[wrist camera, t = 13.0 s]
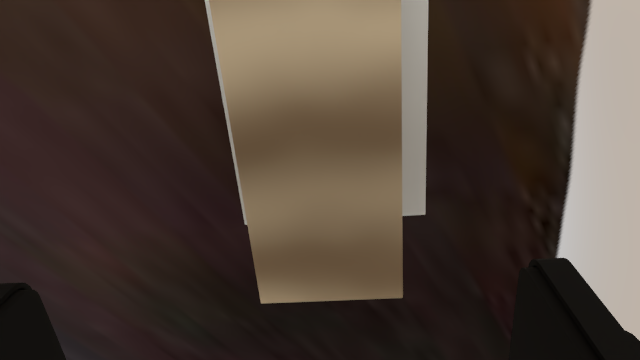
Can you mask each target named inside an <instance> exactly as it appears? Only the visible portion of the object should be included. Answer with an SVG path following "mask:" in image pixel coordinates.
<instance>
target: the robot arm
mask: <svg viewBox="0 0 640 360" xmlns="http://www.w3.org/2000/svg"><path fill="white" fill-rule="evenodd" d="M0 360H66V358H65V355H64V353H63V351H62V348H61V346H60V344H59V341H58V339H57V336H56V334H55V332H54V329H53V327H52V324H51V322H50V320H49V317H48V315H47V312H46V310H45V308H44V305H43V303H42V300H41V298H40V296H39V294H38V292H36V291H35V290H32V288H31V287H30V286H29V285H28V284H26V283H4V284H0ZM509 360H640V341H639V340H638V339H637V338H636V337H635V336H634V335H633V334H631V333H629V332H627V331H625V330H624V329H623V328H622V327H621V326H620V324H619V323H618V322H617V320H616V319H615V318H614V317H613V316H612V314H611V313H610V312H609V311H608V309H607V308H606V306H605V305H604V304H603V303H602V301H601V300H600V299H599V298H598V297H597V295H596V294H595V293H594V291H593V290H592V289H591V288H590V286H589V285H588V284H587V283H586V281H585V280H584V279H583V278H582V276H581V275H580V274H579V272H578V271H577V270H576V269H575V268H574V266H573V265H572V264H571V262H569V260H567V259H565V258H552V259H533V260H531V262H530V263H529V267H528V268H521V270H520V272H519V279H518V287H517V295H516V304H515V312H514V320H513V329H512V337H511V345H510V353H509Z"/></svg>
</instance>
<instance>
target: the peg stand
mask: <svg viewBox="0 0 640 360" xmlns="http://www.w3.org/2000/svg"><path fill="white" fill-rule="evenodd" d="M205 5H206V10H207V16H208V21H209V27H210V33H211V38H212V44H213V49H214V55H215V61H216V66H217V72H218V77H219V83H220V88H221V94H222V100H223V105H224V111H225V116H226V122H227V127H228V133H229V139H230V144H231V150H232V155H233V161H234V167H235V172H236V178H237V183H238V189H239V194H240V200H241V206H242V211H243V217H244V222H245V225H247V219H246V213H245V208H244V202H243V196H242V190H241V184H240V178H239V173H238V167H237V161H236V155H235V149H234V143H233V138H232V132H231V126H230V120H229V114H228V108H227V103H226V97H225V91H224V85H223V79H222V73H221V68H220V62H219V56H218V50H217V44H216V38H215V33H214V27H213V21H212V15H211V9H210V3H209V0H205ZM427 61H428V0H401V68H402V216H411V215H425V206H426V133H427Z"/></svg>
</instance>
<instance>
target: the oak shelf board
mask: <svg viewBox="0 0 640 360" xmlns="http://www.w3.org/2000/svg"><path fill="white" fill-rule="evenodd" d="M209 3H210V9H211V15H212V21H213V27H214V33H215V38H216V44H217V50H218V56H219V62H220V68H221V73H222V79H223V85H224V91H225V97H226V103H227V108H228V114H229V120H230V126H231V132H232V138H233V143H234V149H235V155H236V161H237V167H238V173H239V178H240V184H241V190H242V196H243V202H244V208H245V213H246V219H247V225H248V231H249V237H250V243H251V248H252V254H253V260H254V266H255V272H256V278H257V283H258V289H259V295H260V301H261V304H262V303H287V302H312V301H337V300H362V299H387V298H403V248H402V68H401V0H209Z"/></svg>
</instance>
